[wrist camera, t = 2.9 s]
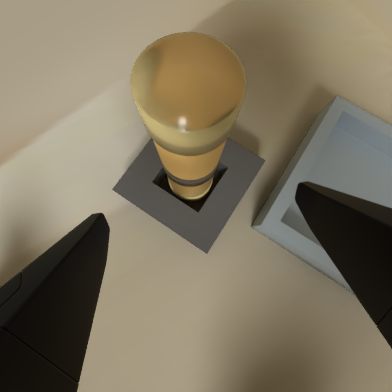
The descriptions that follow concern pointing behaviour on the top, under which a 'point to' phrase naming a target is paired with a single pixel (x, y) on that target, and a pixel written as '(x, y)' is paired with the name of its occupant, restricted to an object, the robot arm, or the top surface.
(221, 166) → the block
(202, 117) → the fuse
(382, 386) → the top surface
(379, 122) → the parts tray
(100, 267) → the robot arm
